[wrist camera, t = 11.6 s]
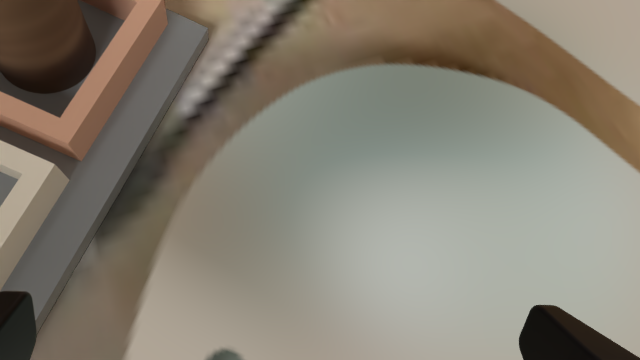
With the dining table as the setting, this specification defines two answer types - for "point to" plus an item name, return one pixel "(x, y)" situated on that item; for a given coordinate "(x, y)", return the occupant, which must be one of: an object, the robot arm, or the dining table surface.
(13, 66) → the walnut pin
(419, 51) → the dining table surface
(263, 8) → the dining table surface
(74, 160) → the board
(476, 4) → the dining table surface
